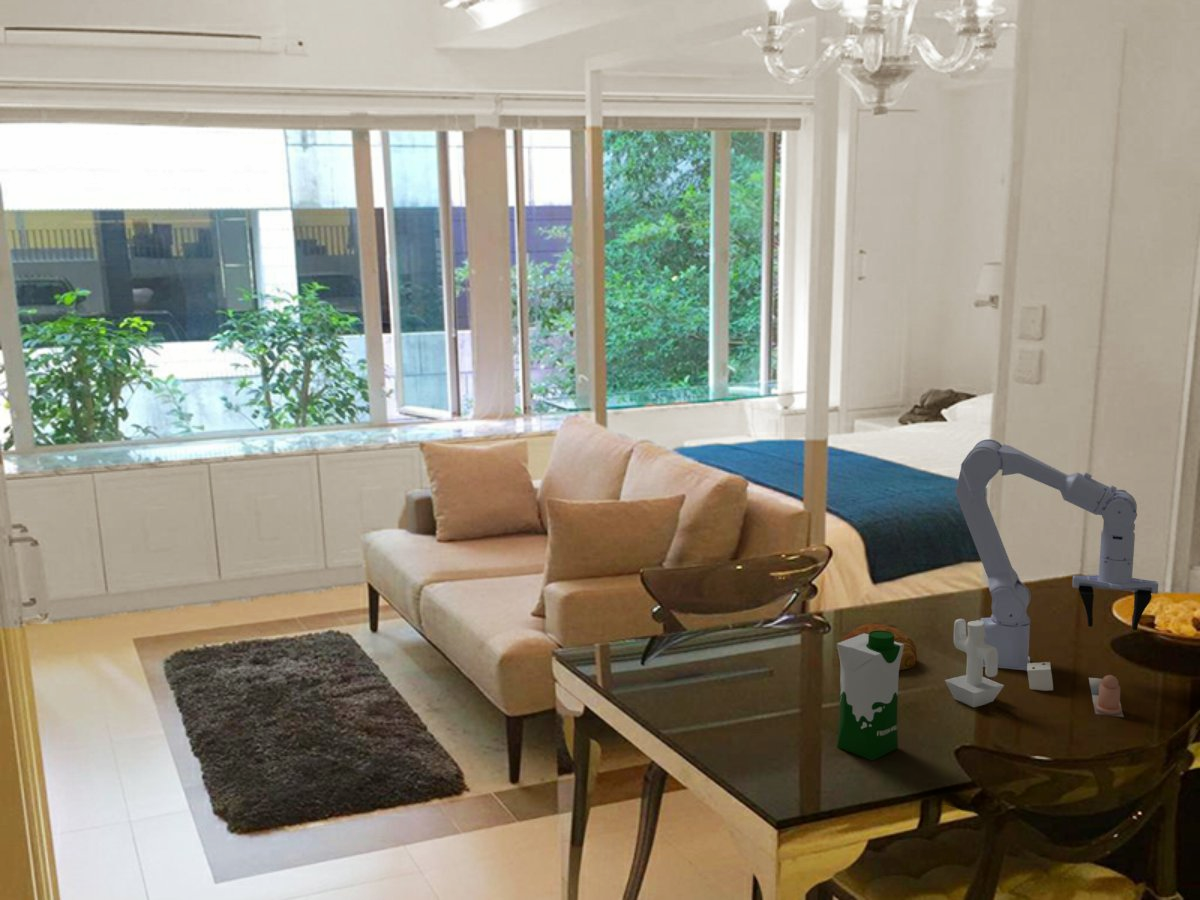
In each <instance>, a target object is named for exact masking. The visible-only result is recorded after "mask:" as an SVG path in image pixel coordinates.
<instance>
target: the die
mask: <svg viewBox="0 0 1200 900" xmlns="http://www.w3.org/2000/svg"><path fill="white" fill-rule="evenodd" d="M1051 667H1052V666H1051V661H1043V662H1041V661H1040V662H1030V663H1027V670H1026V672H1027V679H1028V685H1029V689H1030V690H1035V691H1037V690H1038V691H1045V692H1046V691H1054V681H1053V675H1052V668H1051Z"/></svg>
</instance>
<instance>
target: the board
mask: <svg viewBox="0 0 1200 900" xmlns="http://www.w3.org/2000/svg"><path fill="white" fill-rule="evenodd" d="M1102 679H1103V678H1098V677H1088V681H1089V687H1090V691H1091V698H1092V703H1093V708H1094V714H1095V715H1099V716H1100V715H1101V716H1108V717H1109V716H1110V717H1111V716H1112V717H1119V718H1120V717H1121V718H1124V713H1123V711H1122V712H1121V714H1118V715H1107V714H1102V713H1100V712H1098V711H1096V709H1095V706H1096V703H1097V702H1098V698H1099V684H1101V683H1102ZM1119 705H1120V706H1121V707H1122V704H1121V702H1120V703H1119Z"/></svg>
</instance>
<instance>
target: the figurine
mask: <svg viewBox="0 0 1200 900" xmlns="http://www.w3.org/2000/svg"><path fill="white" fill-rule="evenodd" d="M985 632H986V631H985V623H984V622H983V621H981V619H975V620H971V621H968V622H966V620H965V619H964V618H958V619H956V620H955V621H954V623H953V645H954V647H955V648H956V649H957V650H959V651H961V652H964V653H966V671H965V672H966V673H965V674H963V675H959V676H956V677H951V678H948V679H944V682H945V684H946V686H947V688H948V689H949V691H950V693H951V695H952V697H953V699H954V700H956V701H959V702H960V703H963V704H965V705H967V706H969V707H971V708H977V707H981V706H983V705H987V704H990V703H992V702H994V701H995V699H997V696H998V695H999V693H1000V692H1001V690H1003V688H1004V687H1005V685H1004V684H1002V683H999V682H997V681H994V680H992V679H989V678H994V677H996V676H997V675H998V671H999V670H998V669H999V668H998V652H997V649H996V648H995V647H993V646H991V645H988V644H985V642H984V638H986V634H985ZM983 659H984V660H985V667H983ZM984 668H985V670H984ZM983 671H984V672H985V673H983ZM983 674H985V676H986V677H985V676H984V675H983ZM987 677H988V678H987Z"/></svg>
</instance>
